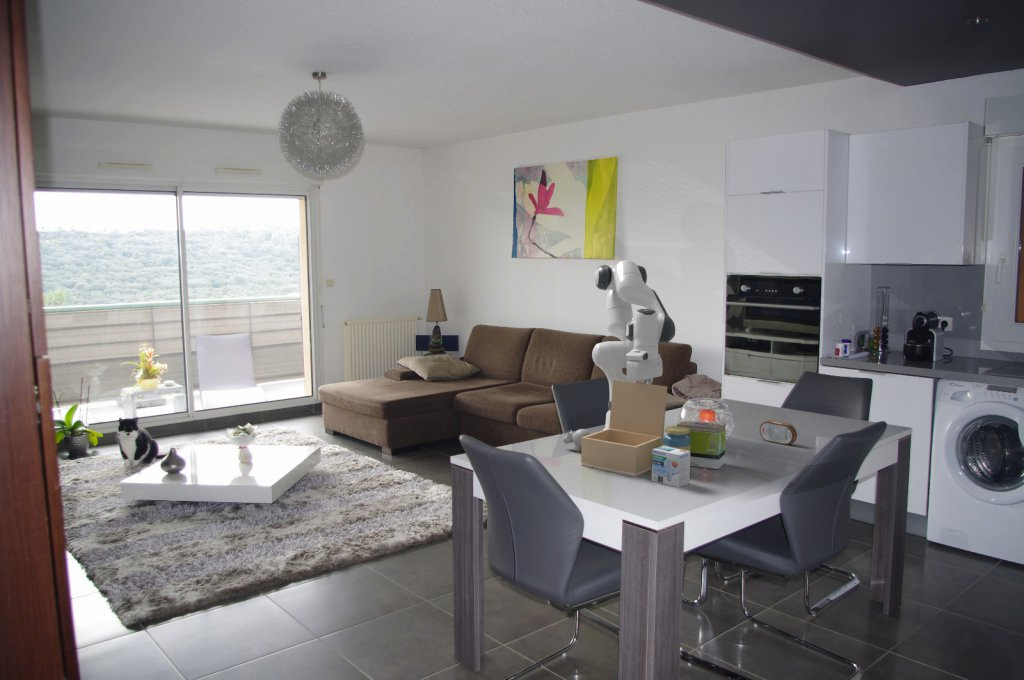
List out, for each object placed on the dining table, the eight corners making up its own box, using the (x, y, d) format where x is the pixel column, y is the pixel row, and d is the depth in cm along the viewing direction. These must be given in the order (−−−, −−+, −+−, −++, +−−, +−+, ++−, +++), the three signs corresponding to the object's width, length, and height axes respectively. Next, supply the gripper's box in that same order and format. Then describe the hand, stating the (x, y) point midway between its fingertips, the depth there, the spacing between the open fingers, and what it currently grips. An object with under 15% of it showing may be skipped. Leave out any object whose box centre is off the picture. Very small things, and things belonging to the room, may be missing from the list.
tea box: (725, 463, 262) (726, 422, 260) (717, 470, 253) (718, 428, 252) (684, 457, 269) (684, 418, 268) (675, 464, 261) (676, 423, 259)
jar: (660, 467, 257) (661, 425, 255) (687, 467, 256) (688, 425, 255) (665, 475, 248) (665, 431, 246) (692, 475, 247) (693, 431, 246)
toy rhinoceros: (567, 446, 287) (567, 424, 286) (595, 450, 281) (595, 428, 280) (558, 450, 281) (558, 428, 280) (586, 454, 275) (586, 432, 274)
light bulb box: (650, 480, 242) (651, 448, 241) (662, 476, 246) (663, 445, 245) (678, 487, 234) (679, 454, 233) (690, 483, 239) (691, 450, 238)
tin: (797, 445, 286) (797, 424, 285) (792, 447, 284) (793, 425, 283) (762, 438, 297) (762, 418, 297) (758, 440, 295) (758, 419, 295)
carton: (608, 454, 274) (608, 428, 273) (661, 464, 260) (662, 437, 259) (581, 465, 260) (581, 437, 259) (635, 476, 246) (635, 447, 245)
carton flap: (609, 428, 273) (616, 427, 277) (662, 437, 259) (669, 436, 263) (613, 380, 273) (620, 380, 277) (666, 386, 259) (673, 386, 263)
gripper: (652, 350, 278) (651, 386, 279) (623, 355, 263) (623, 393, 264) (667, 351, 274) (666, 388, 275) (639, 356, 259) (638, 395, 260)
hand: (645, 391), depth 270 cm, fingers open, 2 cm apart
